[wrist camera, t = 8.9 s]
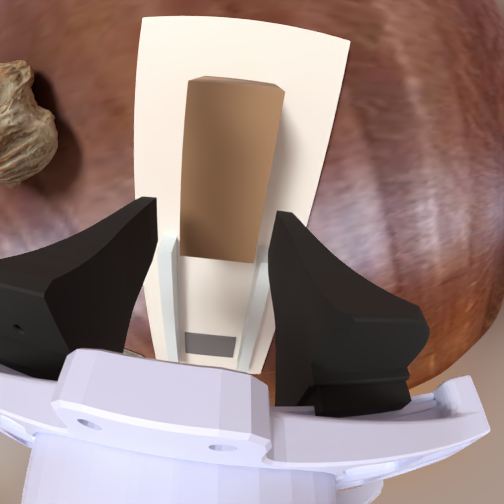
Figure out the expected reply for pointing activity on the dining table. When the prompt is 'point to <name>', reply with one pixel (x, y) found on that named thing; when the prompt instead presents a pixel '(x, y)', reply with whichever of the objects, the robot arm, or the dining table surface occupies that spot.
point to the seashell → (23, 126)
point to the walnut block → (226, 165)
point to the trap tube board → (279, 187)
